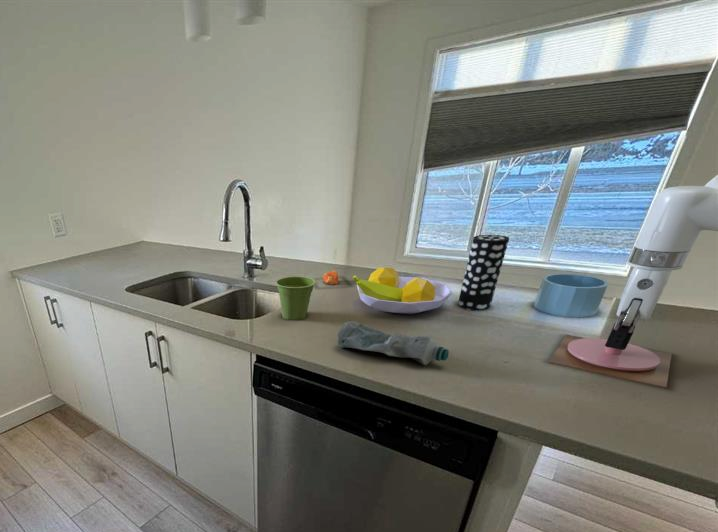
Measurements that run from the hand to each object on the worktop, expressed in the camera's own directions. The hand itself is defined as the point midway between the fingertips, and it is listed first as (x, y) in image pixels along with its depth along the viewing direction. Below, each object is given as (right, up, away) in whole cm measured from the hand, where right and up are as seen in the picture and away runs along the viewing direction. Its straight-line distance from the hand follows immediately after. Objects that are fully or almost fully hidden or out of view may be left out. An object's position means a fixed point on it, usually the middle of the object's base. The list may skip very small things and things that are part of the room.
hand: (616, 344), depth 86 cm
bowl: (+13, +12, +27) cm, 33 cm away
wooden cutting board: (0, -3, +2) cm, 4 cm away
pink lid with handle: (0, -2, +1) cm, 2 cm away
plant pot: (-61, +12, +40) cm, 73 cm away
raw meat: (-41, +30, +64) cm, 82 cm away
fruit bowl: (-29, +16, +40) cm, 52 cm away
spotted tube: (-8, +14, +35) cm, 38 cm away
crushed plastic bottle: (-44, -2, +12) cm, 45 cm away
